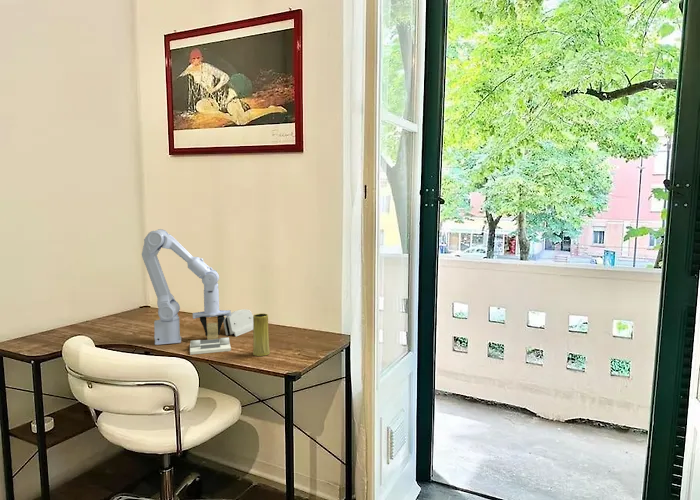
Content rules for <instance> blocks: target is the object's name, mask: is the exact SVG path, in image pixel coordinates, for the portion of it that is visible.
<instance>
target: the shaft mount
mask: <svg viewBox="0 0 700 500" xmlns="http://www.w3.org/2000/svg"><path fill="white" fill-rule="evenodd" d="M231 351H232V347H231V343H230V337H229V336H228V337H220V338H219V337H218V339H212V340H208V339H196V340H190V342H189V354H190V356H191V355H201V354H212V353H222V352H223V353H224V352H231Z"/></svg>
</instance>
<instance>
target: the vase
mask: <svg viewBox="0 0 700 500" xmlns="http://www.w3.org/2000/svg"><path fill="white" fill-rule="evenodd" d="M252 315H253V330H252V331H253V337H252V339H253V349H252V350H253V351H252V354H253V356H256V357H265V356H268V355H270V354H271V350H270V339H269V338H270V337H269V314H267V313H255V314H252Z"/></svg>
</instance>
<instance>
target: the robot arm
mask: <svg viewBox="0 0 700 500" xmlns="http://www.w3.org/2000/svg"><path fill="white" fill-rule="evenodd" d="M161 249H167V250H171V251H172V252H173V253H175V254H176V255H177V256H178V257H180V258H181V259H182V260H183V261H184V262H186V264H187V268H188V269H189V270H190V271H191V272H192V273H193V274H194V275H195V276H197V277H198V278H199V279H201V283H202V284H203V288H204V289H203V307H204V308H203V311H198V312H192V319H195V320H196V319H199V321H200V323H201V325H202V327H203V329H204V334H205V336H206V337H207V323H208V321H207V320H208V319H207V318H217V325H218V336H220V335H221V328H222V325H223V324H224V323H223V321H224V318H225V317H226V316H231V313H232V311H231V310H229V309H228V310H225V309H224V310H223V309H222V310H220V294H219V293H220V291H219V283H218V282H219V281H220V275H219V273H218V272H217V270H216V269H213V267H212V266H209V265H208V264H207V263H206V262H205V260H204V258H203V257H199V256H193V255H192V254H191V253H190V252H189V251H188V249H186V248H185V247H184V246H183V245H182V244H181V243H180V242H179V240H178V239H176V238H175V237H174V236H173V235H172V234H170V233H168V231H166V230H165V229H161V228H160V229H156V230H151V231H150V232H148V234H147V235H146V236H145V237H144V239H143V247H142V251H141V258H142V261H143V263H144V265H145V268H146V271H147V273H148V277H149V279H150V281H151V285H152V287H153V289H154V292H155V296H156V298H157V301H156V302H157V303H156V304H157V309H158V311H157V315H158V317H159V319H156V320H154V322H153V323H154V324H153V329H154V332H153V333H154V336H153V339H154V345H155V346H157V345H167V344H168V345H169V344H170V345H171V344H181V343H182V336H181V333H180V332H181V331H180V329H181V328H180V316H179V315H178V313H179V312H180V310H181V307H180V304H179V302H178V301H176V299H175V297H174V295H173V294H172V293H171V290H170V287H169V285H168V283H167V280H166V277H165V273H164V271H163V269H162V266H161V263H160V261H159V257H158V254H159V253H160V251H161Z"/></svg>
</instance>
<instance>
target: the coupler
mask: <svg viewBox="0 0 700 500" xmlns="http://www.w3.org/2000/svg"><path fill="white" fill-rule="evenodd" d="M206 338H207V339H206V340H212V339H219V335H218V322H209V323H208V322H207V336H206Z"/></svg>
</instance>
